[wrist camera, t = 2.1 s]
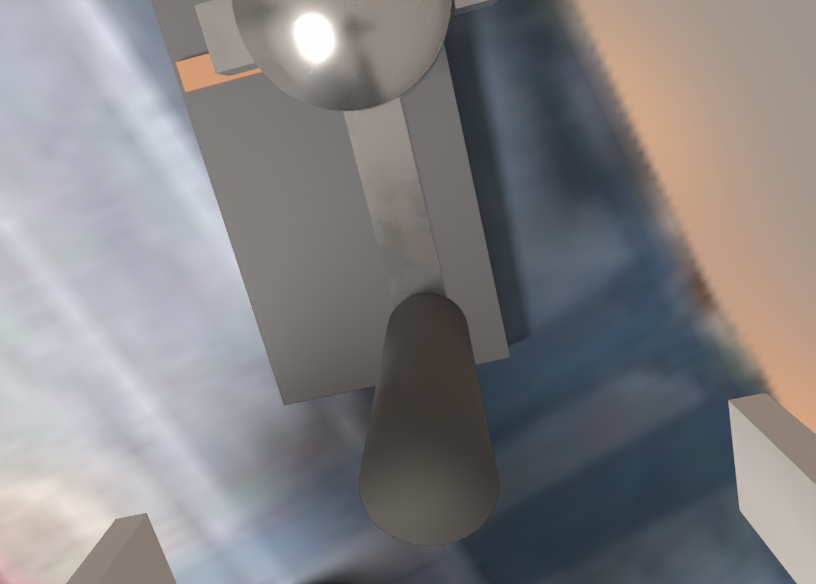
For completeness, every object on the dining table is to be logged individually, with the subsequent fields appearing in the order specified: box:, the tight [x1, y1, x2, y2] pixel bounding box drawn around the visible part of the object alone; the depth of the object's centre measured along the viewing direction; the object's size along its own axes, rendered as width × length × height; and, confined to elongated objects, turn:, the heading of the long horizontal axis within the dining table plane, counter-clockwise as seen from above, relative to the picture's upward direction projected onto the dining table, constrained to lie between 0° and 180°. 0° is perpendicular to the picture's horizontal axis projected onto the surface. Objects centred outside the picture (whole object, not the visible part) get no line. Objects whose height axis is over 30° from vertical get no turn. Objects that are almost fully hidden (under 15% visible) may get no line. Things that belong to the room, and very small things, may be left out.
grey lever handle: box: [194, 0, 499, 546], centre depth 19 cm, size 18×11×14 cm, turn 14°
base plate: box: [151, 0, 510, 405], centre depth 29 cm, size 24×13×6 cm, turn 14°
